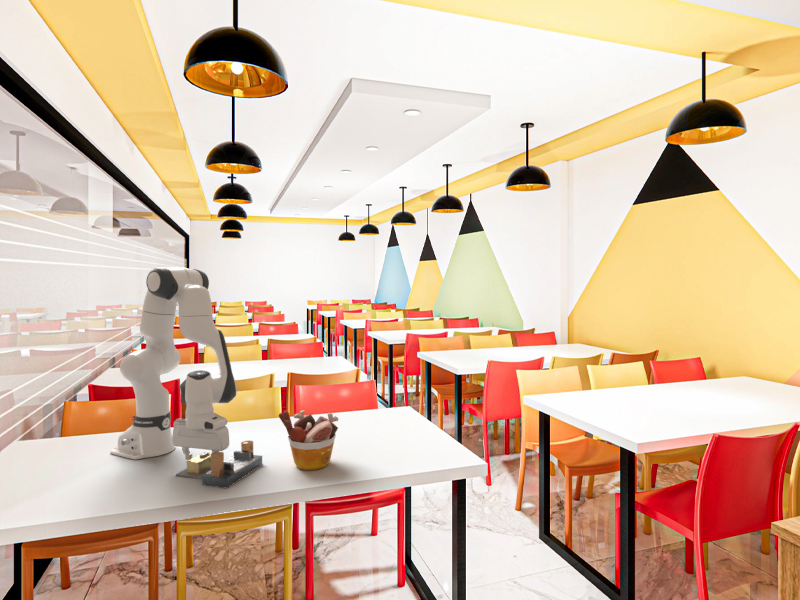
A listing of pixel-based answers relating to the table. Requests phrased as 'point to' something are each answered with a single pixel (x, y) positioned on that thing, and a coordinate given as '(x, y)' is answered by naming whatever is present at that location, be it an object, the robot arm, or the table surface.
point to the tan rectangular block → (199, 464)
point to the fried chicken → (310, 439)
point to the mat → (184, 474)
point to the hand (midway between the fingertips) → (200, 460)
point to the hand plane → (231, 466)
